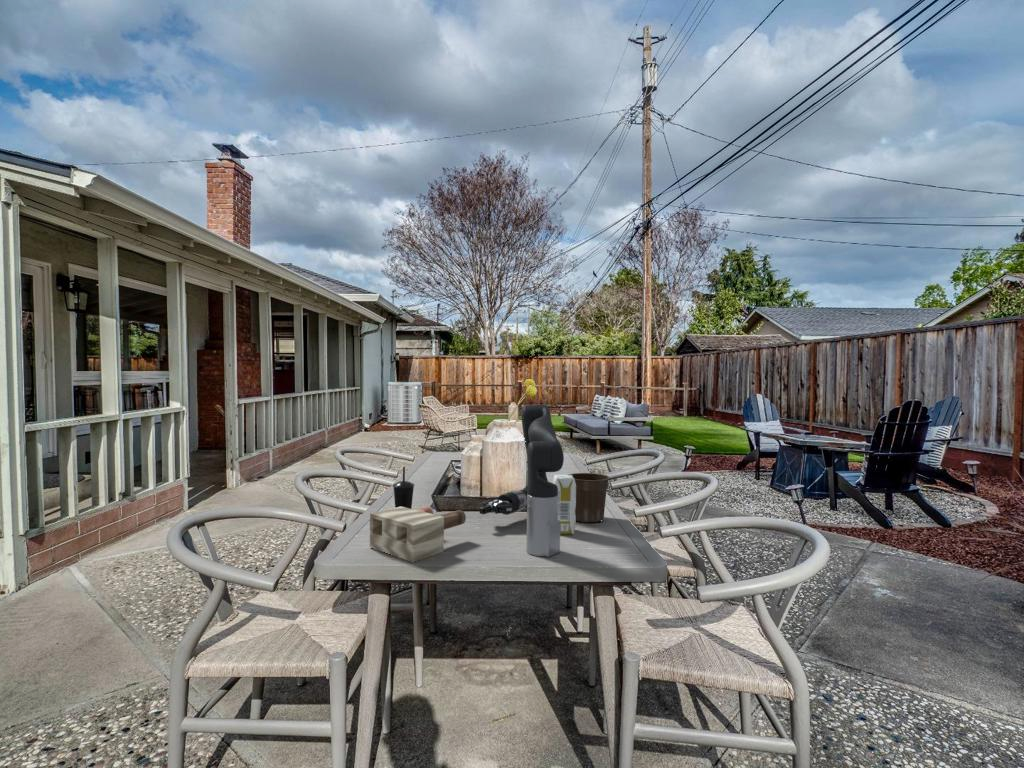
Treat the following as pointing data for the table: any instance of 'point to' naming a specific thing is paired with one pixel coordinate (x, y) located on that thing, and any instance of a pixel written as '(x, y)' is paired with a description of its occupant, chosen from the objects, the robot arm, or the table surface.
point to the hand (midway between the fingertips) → (481, 511)
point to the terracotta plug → (426, 510)
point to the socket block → (407, 533)
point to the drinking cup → (403, 493)
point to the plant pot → (590, 496)
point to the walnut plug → (454, 519)
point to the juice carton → (566, 502)
